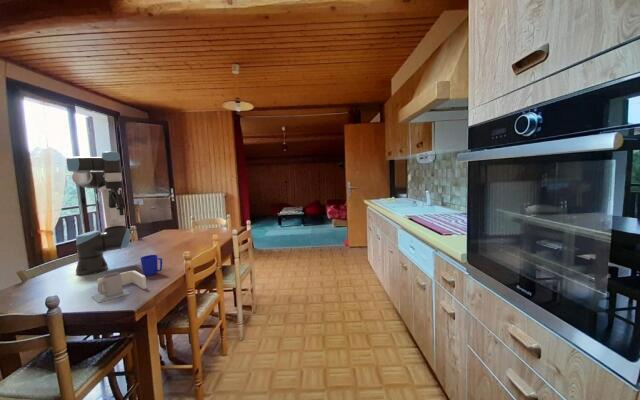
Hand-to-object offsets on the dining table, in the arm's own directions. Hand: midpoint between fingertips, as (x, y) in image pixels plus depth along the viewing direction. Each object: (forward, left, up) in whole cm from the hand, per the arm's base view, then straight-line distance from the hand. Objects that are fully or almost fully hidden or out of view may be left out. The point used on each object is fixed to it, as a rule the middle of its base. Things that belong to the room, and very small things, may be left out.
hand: (118, 220), depth 158 cm
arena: (+20, -6, -32) cm, 38 cm away
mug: (+8, +12, -32) cm, 35 cm away
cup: (+23, -12, -32) cm, 41 cm away
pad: (+23, -12, -32) cm, 41 cm away
